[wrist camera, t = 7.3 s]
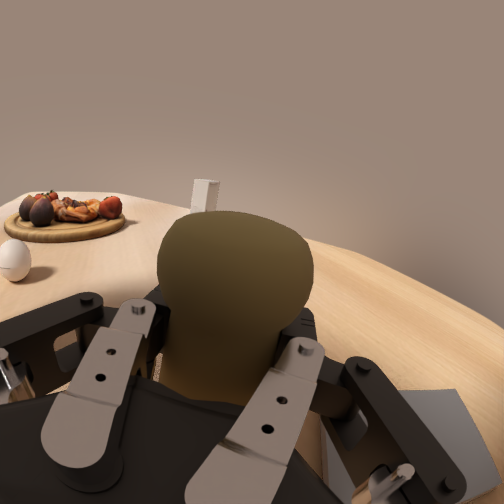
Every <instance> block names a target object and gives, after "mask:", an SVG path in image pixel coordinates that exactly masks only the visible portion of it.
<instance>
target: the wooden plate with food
mask: <svg viewBox="0 0 504 504" xmlns="http://www.w3.org/2000/svg"><path fill="white" fill-rule="evenodd" d="M43 194H44V193H41V194H37V195H36V196H35V197H32V196H31V195H28V196H27V197H26V198H25V199H24V200H23V201H22V203H21V205H20V207H19V212H18V213H15V214H13V215H11V216H10V217H8V218H7V220H6V221H5V223H4V229H5V231H6V233H7V234H8V235H9V236H11V237H13V238H15V239H19V240H22V241H28V242H38V243H61V242H71V241H80V240H86V239H92V238H96V237H100V236H104V235H107V234H110V233H112V232H115V231H117V230H118V229H120V228H121V227H122V226H123V225H124V222H125V217H124V215H123V214H122V203H121V201H120V199H119V198H118V197H115V196H111V197H106V198H105V199H104V201H102V202H100V201H99V200H96V199H91V200H86V201H83V202H81V201H76V200H72V199H70V198H69V197H66V198H63V199H62V200H59V199H58V195H57V193H55V192H54V191H53V192H52V190H51V191H50V193H47V194H44V195H43Z"/></svg>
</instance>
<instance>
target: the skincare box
mask: <svg viewBox="0 0 504 504" xmlns="http://www.w3.org/2000/svg"><path fill="white" fill-rule="evenodd" d="M219 185H220V182H219V181H213V180H206V179H195V181H194V187H193V195H192V203H191V210H190V214H191V213H197V212H207V211H216V204H217V198H218V191H219Z"/></svg>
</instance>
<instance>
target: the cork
mask: <svg viewBox="0 0 504 504" xmlns="http://www.w3.org/2000/svg"><path fill="white" fill-rule="evenodd" d="M313 273H314V265H313V258H312V255H311V251H310V248H309V245H308V243H307V242H306V241H305V240H304V239H303V238H302V237H301V236H300V235H299V234H298V233H297V232H296V231H294V230H292V229H290V228H288V227H286V226H284V225H282V224H279V223H277V222H275V221H272V220H270V219H267V218H263V217H260V216H256V215H252V214H247V213H241V212H233V211H207V212H197V213H191V214H189V215H186V216H184V217H182V218H180V219H178V220H176V221H175V222H174V224H173V225H172V226H171V228H170V229H169V230H168V232H167V233H166V235H165V236H164V238H163V240H162V243H161V246H160V249H159V252H158V256H157V276H158V281H159V285H160V290H161V293H162V296H163V299H164V301H165V303H166V304H167V305H168V307H169V308H170V309H171V313H170V318H169V323H168V328H167V334H166V339H165V345H164V351H163V357H162V363H161V369H160V375H159V382H158V383H161V384H163V385H165V386H166V387H168V388H170V389H172V390H174V391H175V392H177V393H179V394H181V395H183V396H185V397H187V398H189V399H193V400H205V401H220V402H228V403H232V404H237V405H241V406H246V405H247V404H248V402H249V401H250V399H251V398H252V396H253V395H254V393H255V391H256V390H257V388H258V387H259V385H260V383H261V382H262V380H263V378H264V377H265V375H266V374H267V372H268V370H269V369H270V368H271V367H272V368H274V362H275V356H276V352H277V348H278V344H279V340H280V336H281V332H282V329H284V328H285V327H287V326H288V325H290V324H291V323H292V322H293V321H294V320H295V318H296V317H297V316H298V315H299V314H300V312H301V310H302V309H303V307H304V305H305V304H306V302H307V301H308V299H309V295H310V292H311V289H312V285H313Z"/></svg>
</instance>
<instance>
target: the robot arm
mask: <svg viewBox="0 0 504 504" xmlns="http://www.w3.org/2000/svg"><path fill="white" fill-rule="evenodd" d="M170 313H171V309H170V308H169V307H168V305H167V304H166V303H165V301H164V299H163V296H162V293H161V290H160V285H158V286H156V287H155V288H154V290H152V291H151V292H150V293H149V294H148V295H147V296H146V297H144V298H143V299H130V300H127V301H125V302H123V303H122V305H121V306H120V308H111V307H104V306H103V298H102V297H101V296H100V295H99V294H96V293H92V292H83V293H79V294H76V295H73V296H70V297H67V298H65V299H62V300H59V301H56V302H54V303H51V304H48V305H45V306H43V307H40V308H37V309H35V310H32V311H29V312H27V313H24V314H21V315H19V316H16V317H13V318H11V319H8V320H5V321H3V322H0V504H344V503H343V502H342V501H341V500H340V499H339V498H338V497H337V496H336V495H335V494H334V492H333V491H332V490H331V489H330V488H329V487H328V486H327V485H326V484H325V483H324V482H323V481H322V479H321V478H320V477H319V476H318V475H317V474H316V473H315V472H314V470H313V469H312V468H311V467H310V466H309V465H308V463H307V462H306V461H305V460H304V459H303V458H302V456H301V455H300V454H299V453H298V452H297V450H296V449H295V448H294V447H295V444H296V442H297V439H298V437H299V434H300V432H301V429H302V426H303V424H304V421H305V418H306V415H307V412H308V410H311V411H313V412H316V413H319V414H320V418H321V421H322V423H323V425H324V427H325V429H326V431H327V433H328V435H329V437H330V439H331V441H332V443H333V445H334V447H335V449H336V451H337V453H338V455H339V457H340V459H341V461H342V463H343V464H344V466H345V468H346V470H347V472H348V474H349V476H350V478H351V480H352V482H353V484H354V486H355V488H356V489H355V491H354V492H353V494H352V499H351V501H352V504H456V503H458V502H459V501H460V500H461V499H462V498H463V497H464V495H465V493H466V490H467V482H466V479H465V477H464V475H463V474H462V472H461V471H460V469H459V468H458V467H457V466H456V464H455V463H454V462H453V460H452V459H451V458H450V456H449V455H448V454H447V452H446V451H445V450H444V448H443V447H442V446H441V444H440V443H439V442H438V441H437V439H436V438H435V437H434V435H433V434H432V433H431V432H430V430H429V429H428V428H427V426H426V425H425V424H424V423H423V421H422V420H421V419H420V418H419V416H418V415H417V414H416V413H415V411H414V410H413V409H412V408H411V406H410V405H409V404H408V403H407V401H406V400H405V399H404V398H403V396H402V395H401V394H400V393H399V391H398V390H397V389H396V388H395V386H394V385H393V384H392V383H391V381H390V380H389V379H388V378H387V377H386V375H385V374H384V373H383V372H382V370H381V369H380V368H379V367H378V366H377V365H376V364H375V363H374V362H373V361H371V360H369V359H367V358H364V357H358V356H355V357H350V358H348V359H347V360H346V362H345V364H342V363H339V362H336V361H334V360H331V359H329V358H328V357H326V356H325V349H324V347H323V346H322V345H321V344H320V343H318V342H317V335H316V328H315V322H314V315H313V313H312V312H311V311H310V310H309V309H308V308H304V307H303V309H302V310H301V312H300V314H299V315H298V316H297V317H296V318H295V320H294V321H293V322H292V323H291V324H290V325H288V326H287V327H285V328H284V329H282V332H281V336H280V340H279V344H278V348H277V352H276V356H275V362H274V368H272V367H271V368H270V369H269V370H268V372H267V374H266V375H265V377H264V378H263V380H262V382H261V383H260V385H259V387H258V388H257V390H256V391H255V393H254V395H253V396H252V398H251V399H250V401H249V402H248V404H247V405H246V406H241V405H237V404H232V403H228V402H220V401H205V400H193V399H189V398H187V397H185V396H183V395H181V394H179V393H177V392H175V391H174V390H172V389H170V388H168V387H166V386H165V385H163V384H161V383H158V382H156V381H153V376H154V371H155V366H156V356H157V355H158V353H162V354H163V351H164V345H165V339H166V334H167V328H168V323H169V318H170ZM74 329H75V330H76V336H77V342H75V343H73V344H71V345H68V346H66V347H64V348H62V349H60V350H58V351H56V352H55V351H54V346H53V345H54V341H55V340H56V338H57V337H59V336H61V335H63V334H65V333H68V332H70V331H72V330H74ZM70 381H71V382H70ZM68 382H70V385H69V387H68V388H67V390H64V391H61V392H56V393H52V394H48V393H50V392H52V391H54V390H55V389H57V388H59V387H61V386H63V385H65V384H66V383H68ZM46 394H48V395H46ZM359 410H361V411H362V413H363V415H364V416H365V418H366V420H367V423H368V427H367V425H366V424H365V422H364V421H363V419H362V417H361V416H360V414H359V413H358V412H359Z"/></svg>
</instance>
